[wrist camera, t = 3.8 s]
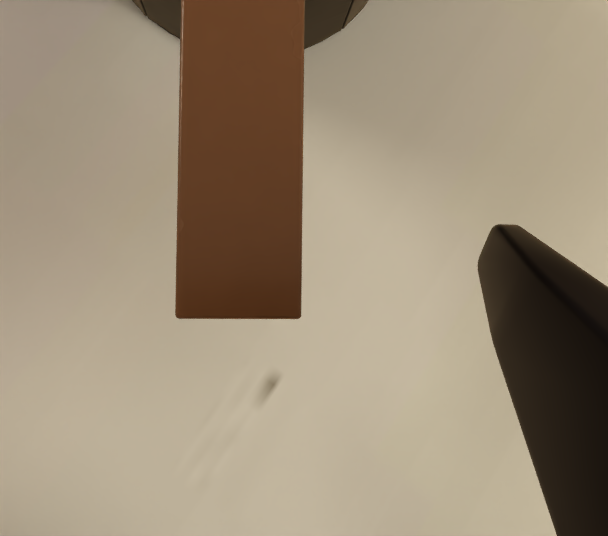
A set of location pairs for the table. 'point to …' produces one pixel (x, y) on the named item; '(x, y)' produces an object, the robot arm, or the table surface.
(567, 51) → the table surface
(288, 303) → the black saucepan
